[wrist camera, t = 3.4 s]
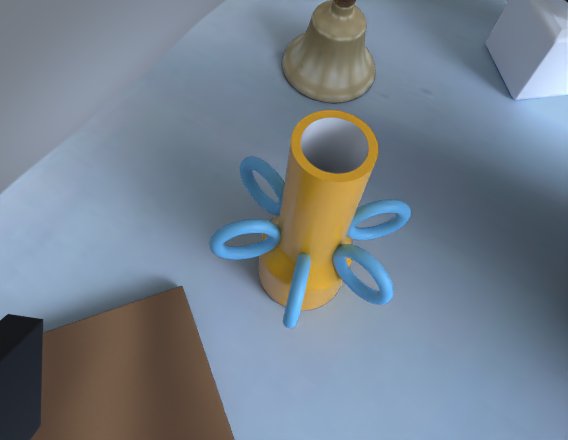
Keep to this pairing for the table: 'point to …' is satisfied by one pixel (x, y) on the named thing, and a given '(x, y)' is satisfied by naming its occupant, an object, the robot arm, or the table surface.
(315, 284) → the cylinder
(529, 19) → the medicine bottle
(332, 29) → the hand bell
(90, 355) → the plate
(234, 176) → the table surface
